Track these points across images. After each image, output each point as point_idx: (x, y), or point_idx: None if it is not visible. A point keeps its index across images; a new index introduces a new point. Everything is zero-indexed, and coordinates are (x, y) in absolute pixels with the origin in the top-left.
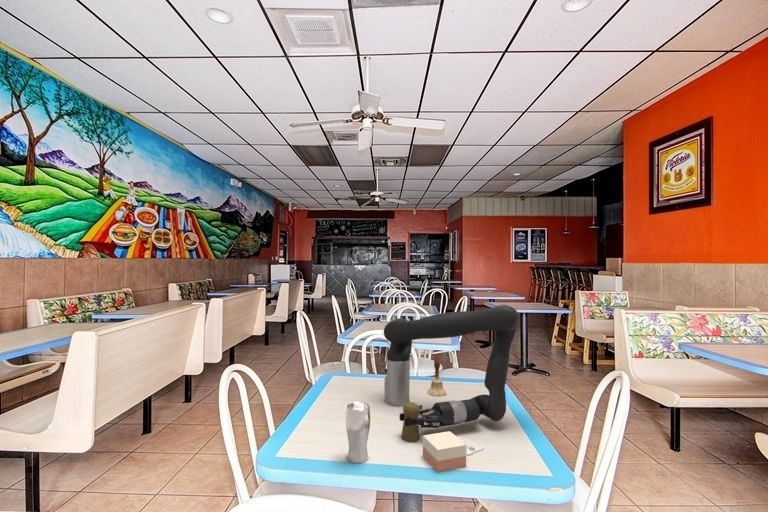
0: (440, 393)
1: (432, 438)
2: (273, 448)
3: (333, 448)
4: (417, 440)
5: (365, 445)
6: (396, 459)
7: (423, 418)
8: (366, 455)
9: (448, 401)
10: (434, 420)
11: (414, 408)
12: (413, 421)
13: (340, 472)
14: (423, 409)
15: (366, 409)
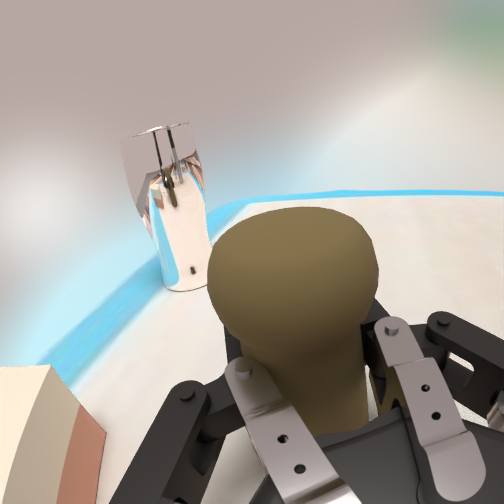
0: None
1: (7, 390)
2: (276, 197)
3: None
4: (258, 456)
5: (158, 248)
6: (136, 349)
7: (198, 408)
8: (167, 277)
9: None
10: (116, 494)
11: (209, 261)
12: (227, 352)
13: (151, 260)
14: (440, 419)
15: (120, 141)
